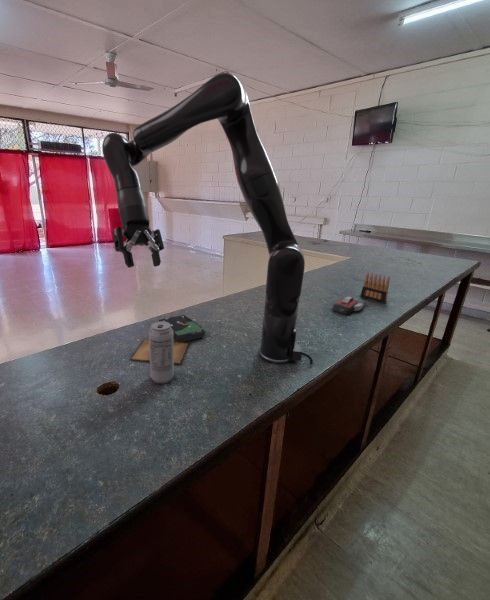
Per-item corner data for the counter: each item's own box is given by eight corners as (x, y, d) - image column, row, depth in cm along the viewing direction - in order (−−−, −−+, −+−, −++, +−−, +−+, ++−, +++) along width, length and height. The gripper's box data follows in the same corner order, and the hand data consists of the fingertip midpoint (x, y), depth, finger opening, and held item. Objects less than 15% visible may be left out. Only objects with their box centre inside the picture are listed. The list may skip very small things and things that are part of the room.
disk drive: (158, 327, 110) (177, 343, 99) (157, 319, 109) (177, 335, 98) (184, 321, 116) (205, 336, 104) (184, 314, 115) (205, 328, 103)
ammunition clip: (386, 302, 140) (392, 276, 136) (384, 303, 139) (390, 277, 135) (361, 295, 147) (367, 271, 143) (360, 296, 146) (365, 271, 142)
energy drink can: (175, 372, 85) (175, 321, 79) (171, 385, 79) (170, 331, 74) (153, 370, 85) (151, 319, 80) (147, 383, 79) (145, 329, 74)
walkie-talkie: (352, 317, 123) (368, 304, 137) (354, 306, 122) (371, 294, 136) (330, 310, 129) (348, 299, 143) (332, 300, 127) (350, 290, 141)
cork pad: (188, 344, 99) (188, 343, 99) (179, 364, 88) (179, 363, 88) (145, 340, 101) (145, 339, 101) (131, 359, 90) (131, 358, 90)
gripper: (116, 200, 79) (129, 263, 78) (161, 206, 89) (173, 262, 88) (102, 211, 84) (114, 271, 83) (146, 215, 94) (157, 268, 93)
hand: (144, 266), depth 86 cm, fingers open, 8 cm apart
